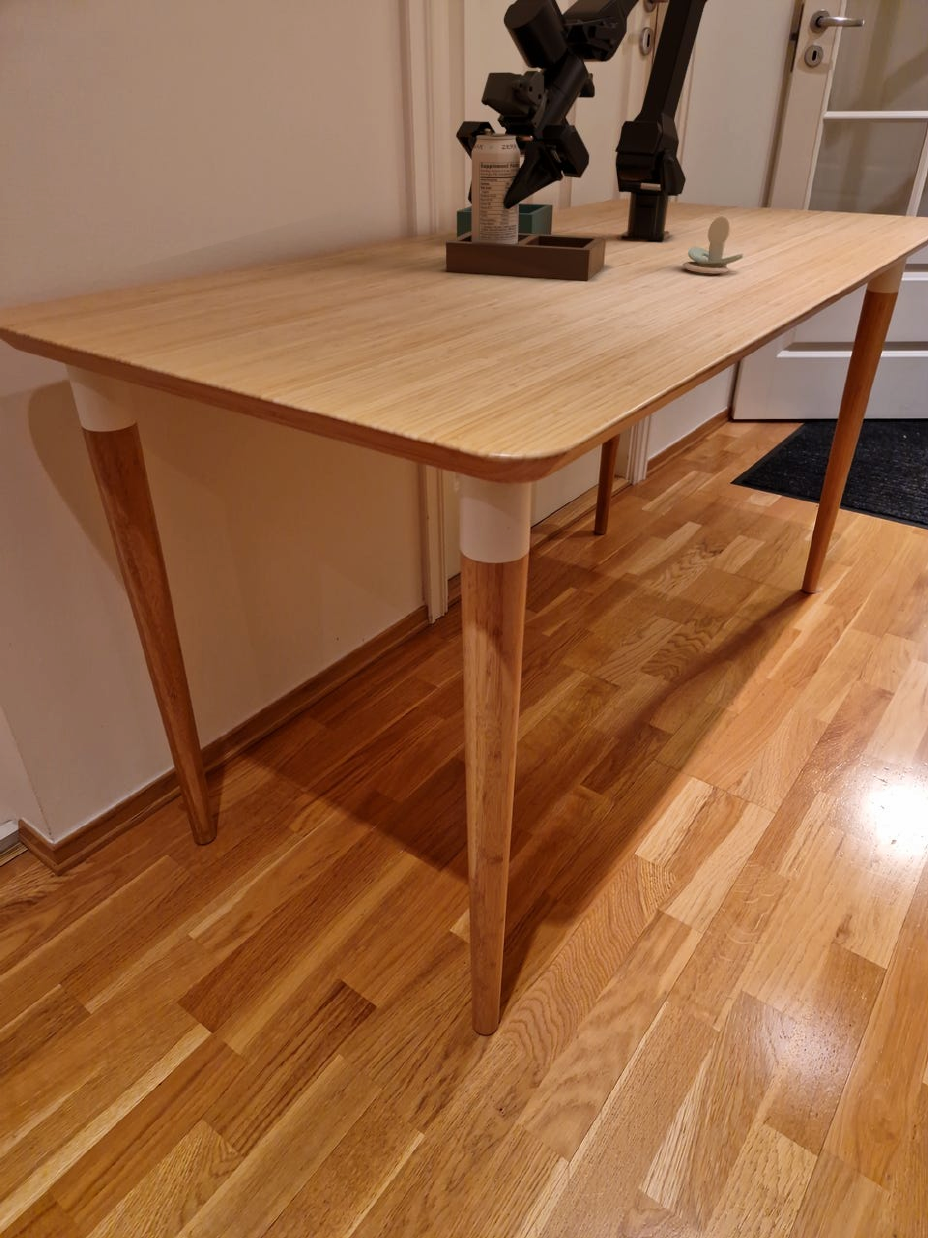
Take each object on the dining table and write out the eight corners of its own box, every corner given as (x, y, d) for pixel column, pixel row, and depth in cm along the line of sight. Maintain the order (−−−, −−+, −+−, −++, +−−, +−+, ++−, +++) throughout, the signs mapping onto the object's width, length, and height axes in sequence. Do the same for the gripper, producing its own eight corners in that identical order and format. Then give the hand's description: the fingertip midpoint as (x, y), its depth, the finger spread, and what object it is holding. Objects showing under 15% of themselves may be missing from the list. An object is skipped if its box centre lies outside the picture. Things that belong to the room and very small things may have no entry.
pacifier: (716, 279, 104) (746, 271, 107) (724, 224, 100) (754, 217, 103) (670, 270, 109) (700, 263, 112) (676, 217, 105) (706, 211, 108)
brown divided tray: (471, 258, 116) (471, 230, 114) (604, 266, 111) (606, 237, 109) (446, 271, 108) (445, 241, 106) (587, 280, 103) (589, 249, 101)
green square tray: (481, 232, 135) (481, 201, 132) (551, 236, 131) (552, 204, 129) (456, 244, 126) (456, 210, 123) (531, 248, 122) (532, 214, 120)
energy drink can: (514, 262, 113) (517, 134, 105) (519, 270, 108) (523, 137, 100) (469, 262, 113) (470, 134, 105) (473, 271, 108) (473, 137, 100)
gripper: (466, 45, 105) (403, 151, 105) (581, 41, 94) (511, 159, 94) (507, 116, 114) (449, 214, 114) (617, 120, 103) (553, 228, 102)
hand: (487, 203), depth 106 cm, fingers closed on energy drink can, 6 cm apart
